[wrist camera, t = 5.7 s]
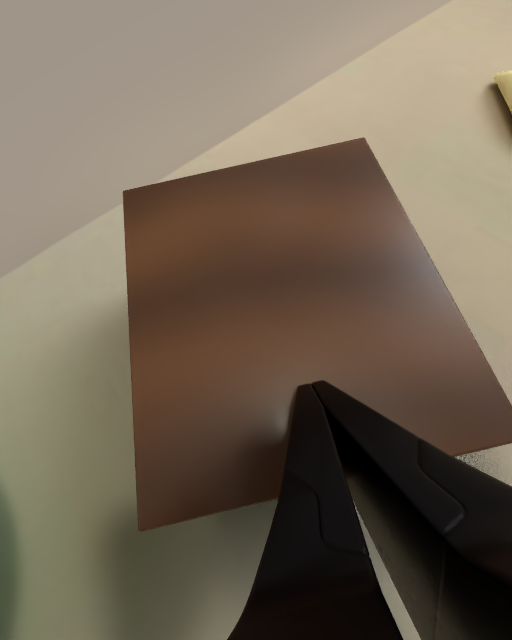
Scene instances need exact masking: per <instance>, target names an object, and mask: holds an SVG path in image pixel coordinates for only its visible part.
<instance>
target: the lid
mask: <svg viewBox="0 0 512 640" xmlns="http://www.w3.org/2000/svg"><path fill="white" fill-rule="evenodd" d="M123 206H124V228H125V250H126V272H127V294H128V316H129V338H130V360H131V382H132V404H133V426H134V448H135V469H136V491H137V513H138V530H139V531H140V532H142V531H147V530H151V529H155V528H159V527H163V526H168V525H172V524H176V523H180V522H184V521H188V520H193V519H197V518H201V517H205V516H209V515H213V514H218V513H222V512H226V511H230V510H234V509H239V508H243V507H247V506H251V505H255V504H259V503H264V502H268V501H272V500H276V499H278V498H279V493H280V488H281V483H282V477H283V471H284V466H285V459H286V453H287V447H288V441H289V435H290V428H291V422H292V416H293V410H294V404H295V397H296V391H297V387H298V386H299V385H303V384H307V383H309V384H311V383H312V382H316V381H320V380H325V381H327V382H328V383H330V384H332V385H333V386H335V387H337V388H338V389H340V390H342V391H343V392H345V393H347V394H348V395H350V396H352V397H353V398H355V399H357V400H358V401H360V402H362V403H363V404H365V405H367V406H368V407H370V408H372V409H373V410H375V411H377V412H378V413H380V414H382V415H383V416H385V417H387V418H388V419H390V420H392V421H393V422H395V423H397V424H398V425H400V426H402V427H403V428H405V429H407V430H408V431H410V432H412V433H413V434H415V435H417V436H418V439H419V438H422V439H424V440H425V441H427V442H429V443H430V444H432V445H434V446H435V447H437V448H439V449H441V450H442V451H444V452H446V453H448V454H449V455H451V456H453V457H456V456H460V455H464V454H468V453H472V452H477V451H481V450H485V449H489V448H493V447H497V446H502V445H506V444H510V443H512V405H511V404H510V402H509V400H508V398H507V396H506V394H505V393H504V391H503V389H502V387H501V385H500V383H499V382H498V380H497V378H496V376H495V374H494V373H493V371H492V369H491V367H490V365H489V363H488V362H487V360H486V358H485V356H484V354H483V353H482V351H481V349H480V347H479V345H478V343H477V342H476V340H475V338H474V336H473V334H472V333H471V331H470V329H469V327H468V325H467V323H466V322H465V320H464V318H463V316H462V314H461V312H460V311H459V309H458V307H457V305H456V303H455V302H454V300H453V298H452V296H451V294H450V292H449V291H448V289H447V287H446V285H445V283H444V282H443V280H442V278H441V276H440V274H439V272H438V271H437V269H436V267H435V265H434V263H433V261H432V260H431V258H430V256H429V254H428V252H427V251H426V249H425V247H424V245H423V243H422V241H421V240H420V238H419V236H418V234H417V232H416V231H415V229H414V227H413V225H412V223H411V221H410V220H409V218H408V216H407V214H406V212H405V210H404V209H403V207H402V205H401V203H400V201H399V200H398V198H397V196H396V194H395V192H394V190H393V189H392V187H391V185H390V183H389V181H388V180H387V178H386V176H385V174H384V172H383V170H382V169H381V167H380V165H379V163H378V161H377V159H376V158H375V156H374V154H373V152H372V150H371V149H370V147H369V145H368V143H367V141H366V139H365V138H359V139H355V140H350V141H346V142H341V143H337V144H332V145H328V146H323V147H319V148H314V149H310V150H305V151H301V152H296V153H292V154H287V155H283V156H278V157H274V158H269V159H265V160H260V161H256V162H251V163H247V164H242V165H238V166H233V167H229V168H224V169H220V170H215V171H211V172H206V173H202V174H197V175H193V176H188V177H184V178H179V179H175V180H170V181H166V182H161V183H157V184H152V185H148V186H143V187H139V188H134V189H130V190H125V191H123Z"/></svg>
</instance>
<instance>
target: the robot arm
mask: <svg viewBox="0 0 512 640" xmlns="http://www.w3.org/2000/svg"><path fill="white" fill-rule="evenodd" d="M353 501H354V503H355V505H356V507H357V510H358V512H359V514H360V516H361V518H362V520H363V522H364V524H365V526H366V528H367V530H368V532H369V534H370V536H371V538H372V540H373V542H374V544H375V546H376V548H377V550H378V552H379V554H380V556H381V558H382V561H383V563H384V565H385V567H386V569H387V571H388V573H389V575H390V577H391V579H392V581H393V583H394V585H395V587H396V589H397V591H398V593H399V595H400V597H401V599H402V601H403V603H404V605H405V607H406V609H407V612H408V614H409V616H410V618H411V620H412V622H413V624H414V626H415V628H416V630H417V632H418V634H419V636H420V638H421V640H512V486H510V485H508V484H505V483H503V482H501V481H499V480H497V479H495V478H493V477H491V476H489V475H487V474H485V473H483V472H481V471H480V470H478V469H476V468H474V467H472V466H470V465H468V464H466V463H464V462H462V461H460V460H458V459H456V458H455V457H453V456H451V455H449V454H448V453H446V452H444V451H442V450H441V449H439V448H437V447H435V446H434V445H432V444H430V443H429V442H427V441H425V440H424V439H422V438H419V439H418V436H417V435H415V434H413V433H412V432H410V431H408V430H407V429H405V428H403V427H402V426H400V425H398V424H397V423H395V422H393V421H392V420H390V419H388V418H387V417H385V416H383V415H382V414H380V413H378V412H377V411H375V410H373V409H372V408H370V407H368V406H367V405H365V404H363V403H362V402H360V401H358V400H357V399H355V398H353V397H352V396H350V395H348V394H347V393H345V392H343V391H342V390H340V389H338V388H337V387H335V386H333V385H332V384H330V383H328V382H327V381H325V380H320V381H316V382H312V383H311V384H309V383H307V384H303V385H299V386H298V387H297V391H296V397H295V404H294V410H293V416H292V422H291V428H290V435H289V441H288V447H287V453H286V459H285V466H284V471H283V477H282V483H281V488H280V493H279V498H278V503H277V507H276V510H275V514H274V518H273V521H272V525H271V528H270V531H269V535H268V538H267V541H266V544H265V548H264V551H263V554H262V557H261V560H260V564H259V567H258V570H257V573H256V577H255V580H254V583H253V586H252V589H251V592H250V595H249V597H248V600H247V603H246V605H245V608H244V610H243V612H242V615H241V617H240V619H239V621H238V622H237V624H236V626H235V628H234V629H233V631H232V632H231V634H230V636H229V637H228V639H227V640H403V638H402V636H401V633H400V631H399V629H398V627H397V624H396V622H395V620H394V618H393V616H392V613H391V611H390V609H389V607H388V605H387V602H386V600H385V598H384V596H383V593H382V591H381V588H380V585H379V583H378V580H377V577H376V574H375V571H374V568H373V565H372V562H371V559H370V557H369V552H368V548H367V545H366V542H365V539H364V535H363V532H362V529H361V526H360V522H359V519H358V516H357V513H356V509H355V506H354V503H353Z"/></svg>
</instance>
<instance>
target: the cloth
mask: <svg viewBox="0 0 512 640" xmlns="http://www.w3.org/2000/svg"><path fill="white" fill-rule="evenodd" d="M494 82H496V83H498V87H499V89H500V91H501V93H502V95H503V97H504V99H505V101H506V103H507V105H508V107H509V109H510V111H511V113H512V70H509V71H504V72H500V73H498V74H496V75H495V77H494Z"/></svg>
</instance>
